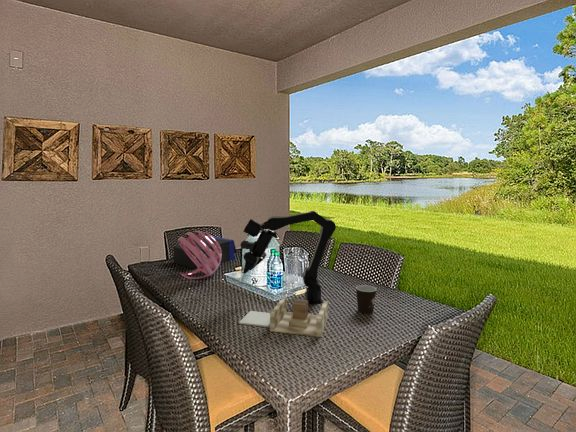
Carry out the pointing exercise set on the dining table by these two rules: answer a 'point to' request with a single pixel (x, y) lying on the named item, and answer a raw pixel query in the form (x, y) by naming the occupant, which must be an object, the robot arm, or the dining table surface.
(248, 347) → the dining table surface
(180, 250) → the headphone box
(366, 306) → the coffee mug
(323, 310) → the slot box
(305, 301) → the walnut block
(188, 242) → the spiral basket
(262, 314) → the grey mat
